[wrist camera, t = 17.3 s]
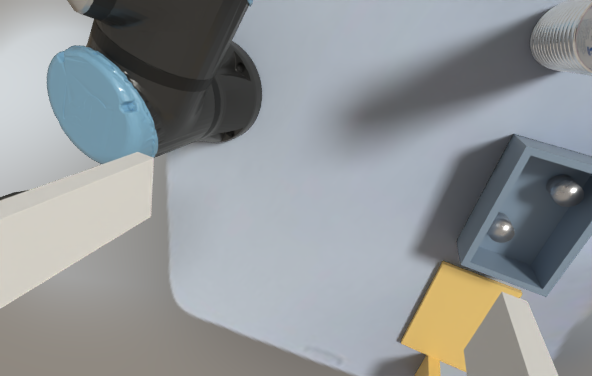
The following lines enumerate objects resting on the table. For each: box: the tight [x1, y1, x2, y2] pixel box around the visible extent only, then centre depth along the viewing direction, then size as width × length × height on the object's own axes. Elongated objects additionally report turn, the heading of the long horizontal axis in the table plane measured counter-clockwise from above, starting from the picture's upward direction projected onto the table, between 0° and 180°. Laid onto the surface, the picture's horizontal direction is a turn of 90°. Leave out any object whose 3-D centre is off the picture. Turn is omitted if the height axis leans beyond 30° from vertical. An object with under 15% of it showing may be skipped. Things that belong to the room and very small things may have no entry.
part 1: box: [488, 212, 515, 243], centre depth 43 cm, size 3×3×3 cm
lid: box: [401, 261, 522, 376], centre depth 50 cm, size 11×23×8 cm, turn 165°
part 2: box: [546, 174, 584, 207], centre depth 40 cm, size 3×3×3 cm
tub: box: [457, 134, 592, 297], centre depth 41 cm, size 10×16×6 cm, turn 165°
